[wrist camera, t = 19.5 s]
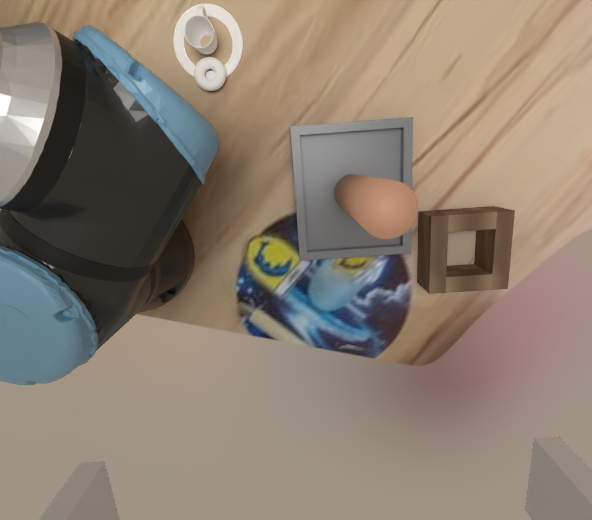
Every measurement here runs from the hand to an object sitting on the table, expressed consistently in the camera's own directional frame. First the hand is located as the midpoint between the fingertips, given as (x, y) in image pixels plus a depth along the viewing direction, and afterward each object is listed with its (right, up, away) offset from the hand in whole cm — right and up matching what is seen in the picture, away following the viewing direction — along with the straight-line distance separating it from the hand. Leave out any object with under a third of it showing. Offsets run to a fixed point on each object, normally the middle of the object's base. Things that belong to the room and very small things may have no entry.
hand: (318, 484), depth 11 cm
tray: (+6, +16, +34) cm, 38 cm away
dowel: (+6, +15, +33) cm, 37 cm away
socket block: (+20, +9, +36) cm, 42 cm away
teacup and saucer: (-13, +31, +31) cm, 45 cm away
